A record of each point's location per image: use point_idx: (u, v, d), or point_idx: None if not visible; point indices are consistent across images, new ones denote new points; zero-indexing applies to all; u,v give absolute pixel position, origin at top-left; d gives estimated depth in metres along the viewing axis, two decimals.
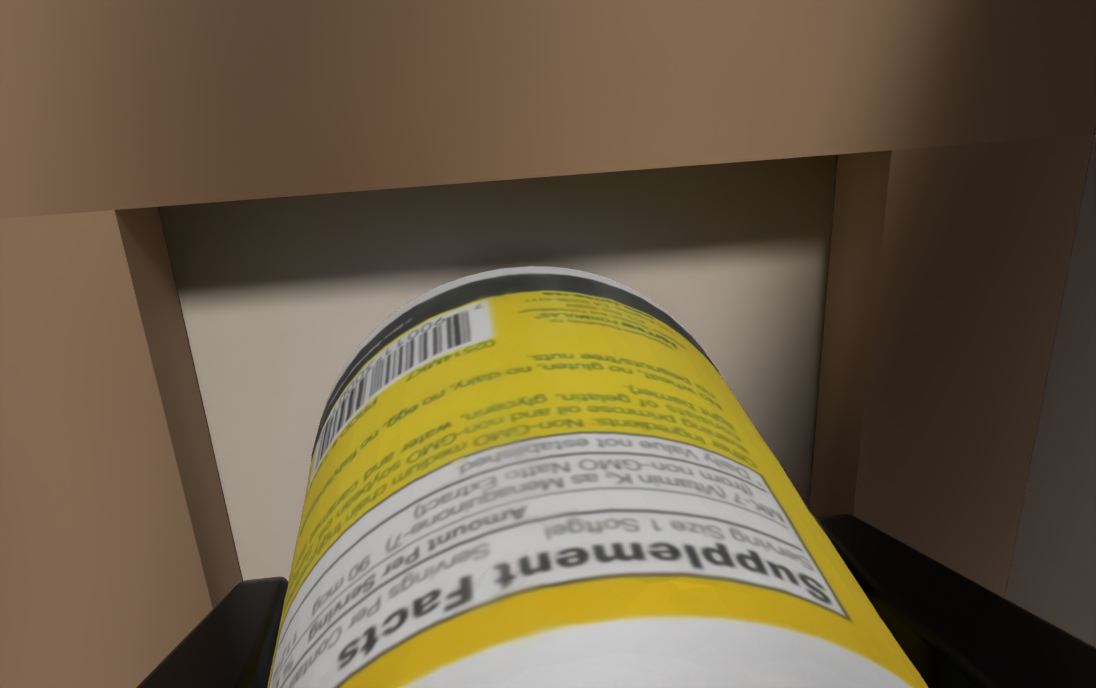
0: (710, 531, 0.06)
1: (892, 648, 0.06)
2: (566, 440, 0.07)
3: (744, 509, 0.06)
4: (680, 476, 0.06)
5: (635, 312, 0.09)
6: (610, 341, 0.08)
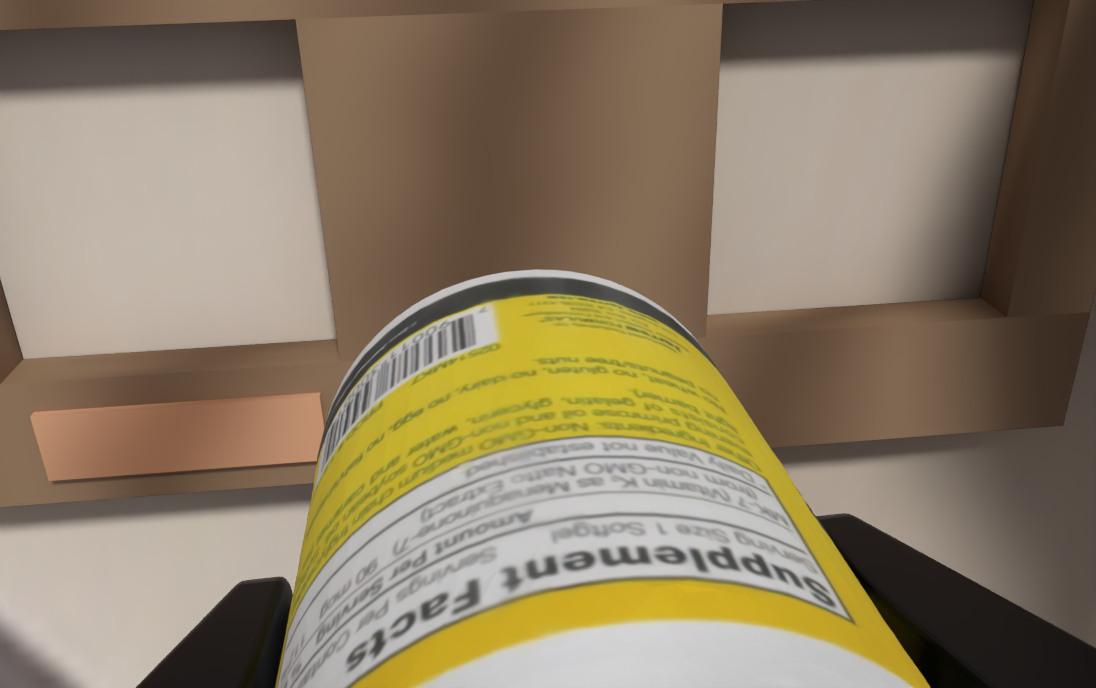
0: (714, 535, 0.06)
1: (896, 650, 0.06)
2: (571, 443, 0.07)
3: (749, 511, 0.06)
4: (684, 480, 0.06)
5: (638, 315, 0.09)
6: (614, 346, 0.08)
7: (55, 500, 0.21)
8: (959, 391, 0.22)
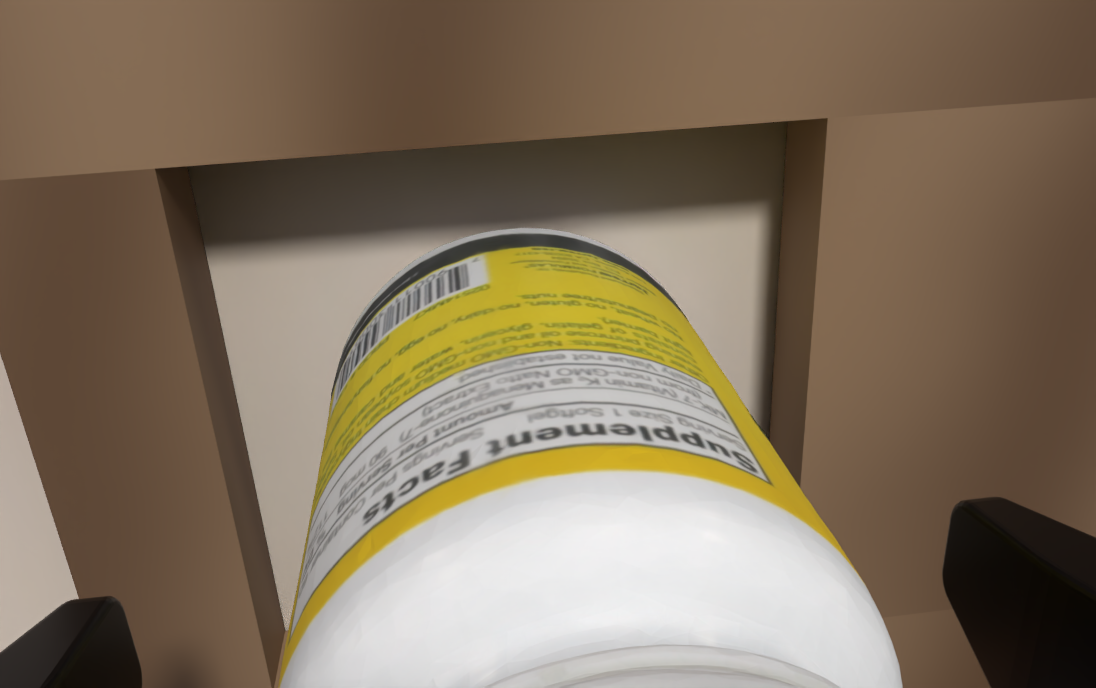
0: (661, 418, 0.07)
1: (807, 510, 0.07)
2: (546, 354, 0.08)
3: (692, 407, 0.07)
4: (640, 381, 0.08)
5: (612, 265, 0.11)
6: (588, 286, 0.10)
7: None
8: None
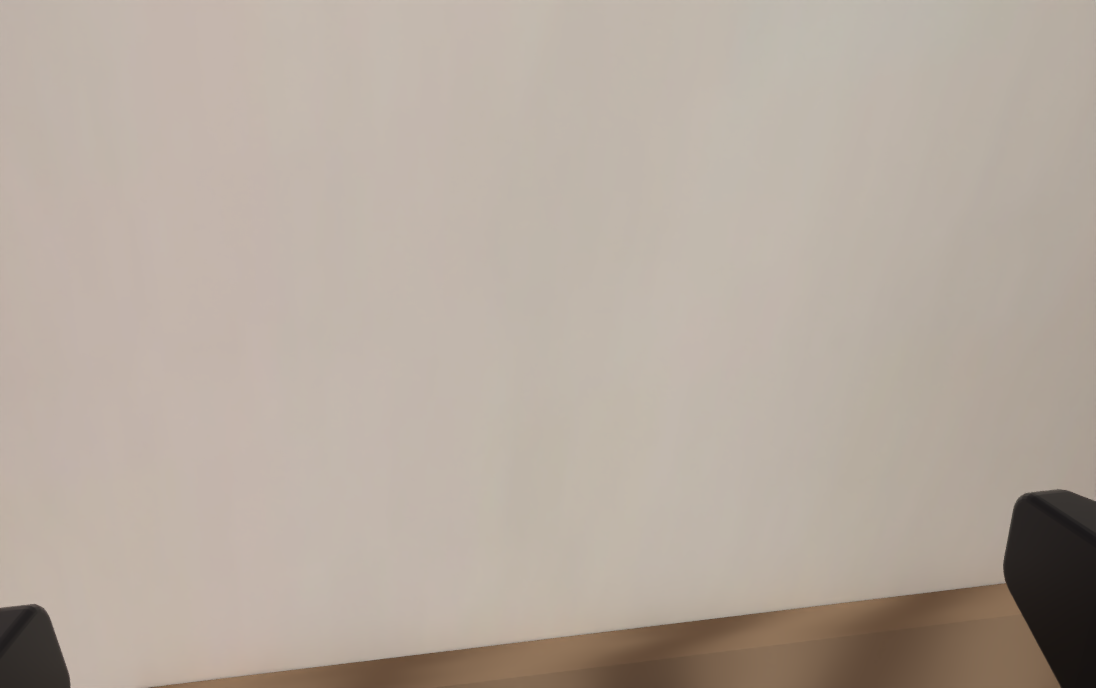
0: None
1: None
2: None
3: None
4: None
5: None
6: None
7: None
8: None
